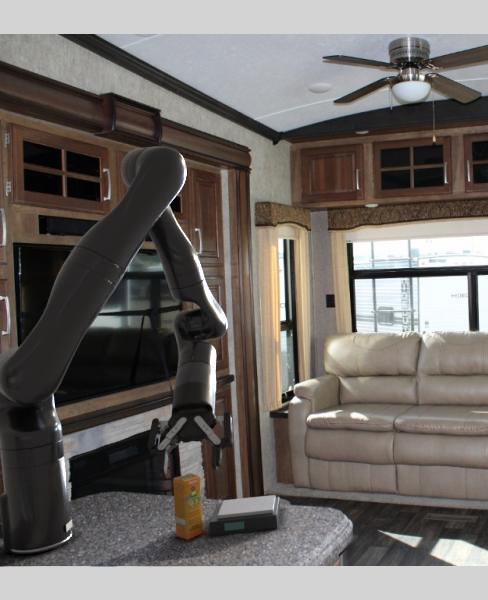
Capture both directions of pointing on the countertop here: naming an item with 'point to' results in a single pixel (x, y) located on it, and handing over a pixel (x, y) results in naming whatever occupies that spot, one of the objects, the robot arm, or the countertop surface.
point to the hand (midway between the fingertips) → (188, 470)
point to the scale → (245, 515)
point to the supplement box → (188, 506)
